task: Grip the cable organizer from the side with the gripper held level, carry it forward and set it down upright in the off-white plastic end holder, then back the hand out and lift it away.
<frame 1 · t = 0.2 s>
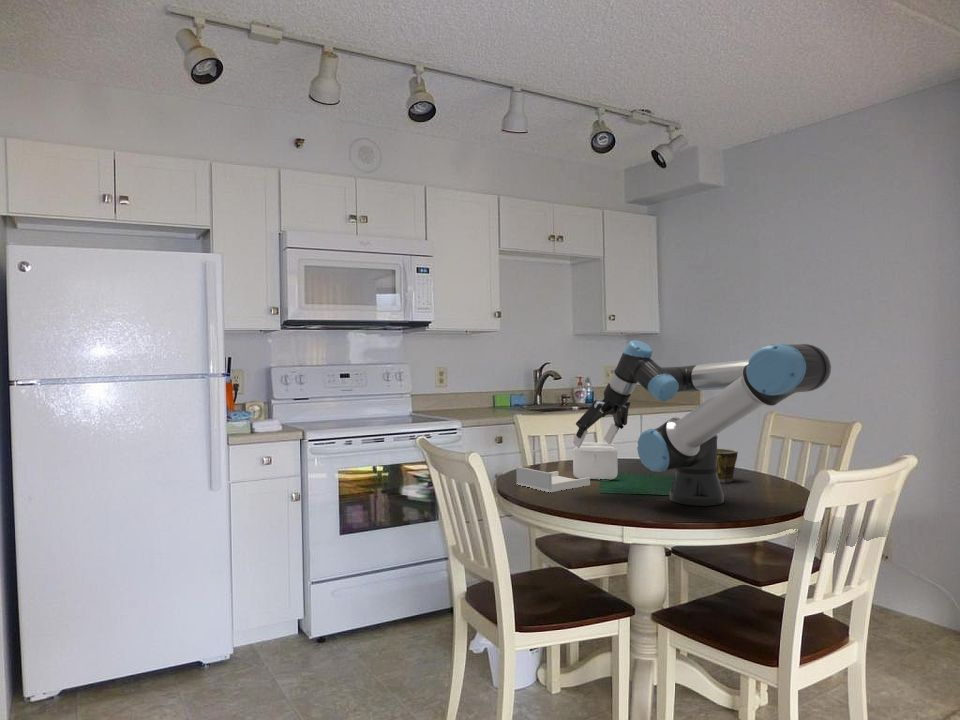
hand: (591, 443, 217), 15 cm above the table, tool tilted 35°, fingers open, 13 cm apart
cable organizer: (595, 478, 239), on the table
ceramic cup: (721, 482, 229), on the table
end holder: (553, 485, 227), on the table
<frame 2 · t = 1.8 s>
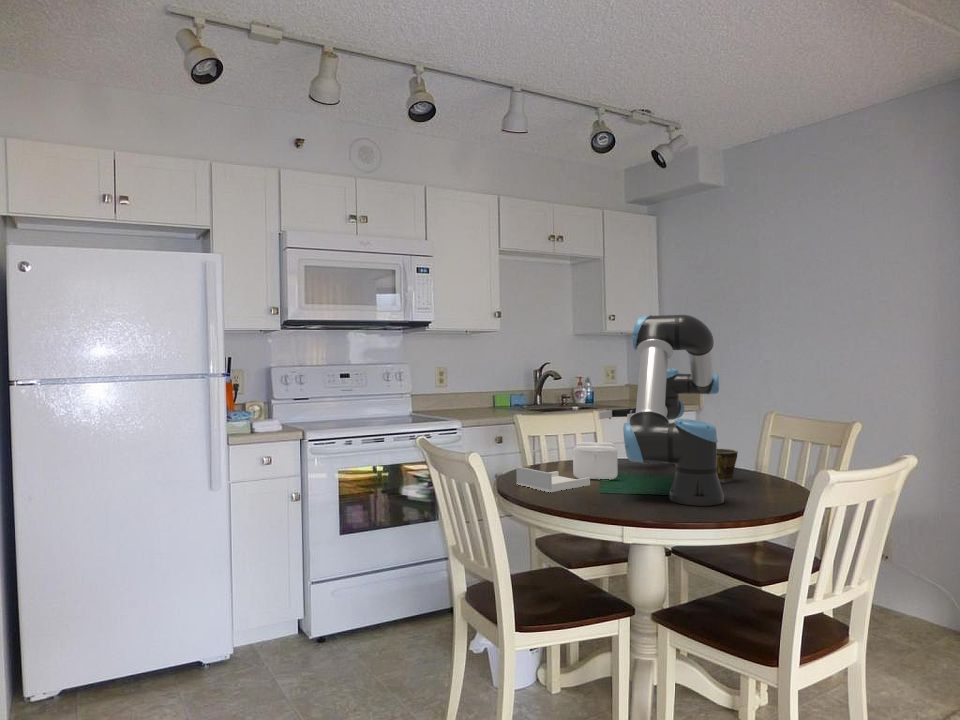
hand: (613, 416, 245), 20 cm above the table, tool horizontal, fingers open, 13 cm apart
nothing on the table moved.
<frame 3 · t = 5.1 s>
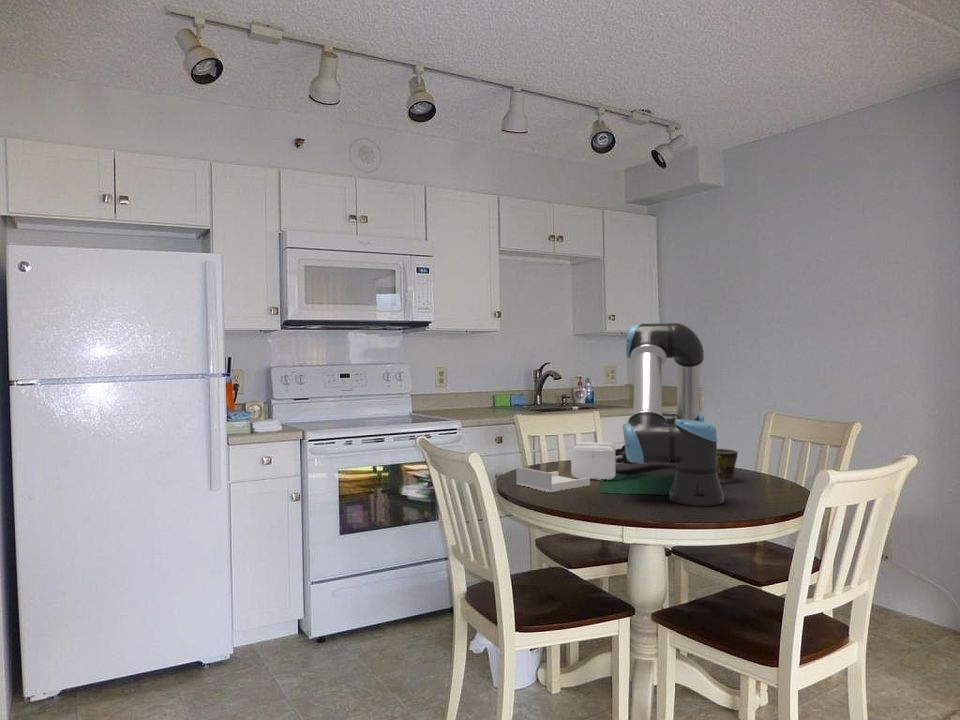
hand: (593, 459, 239), 7 cm above the table, tool horizontal, fingers open, 13 cm apart
cable organizer: (594, 478, 239), on the table, touching gripper
everything else where it was.
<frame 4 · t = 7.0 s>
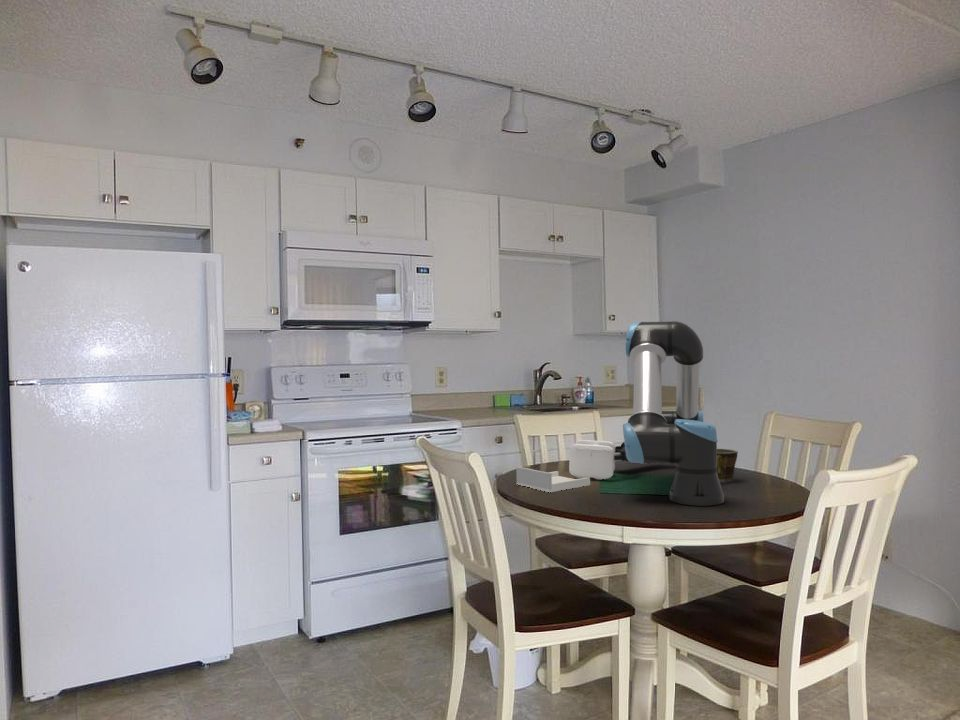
hand: (592, 456, 238), 8 cm above the table, tool horizontal, fingers closed on cable organizer, 12 cm apart
cable organizer: (593, 476, 239), on the table, touching gripper
everything else where it was.
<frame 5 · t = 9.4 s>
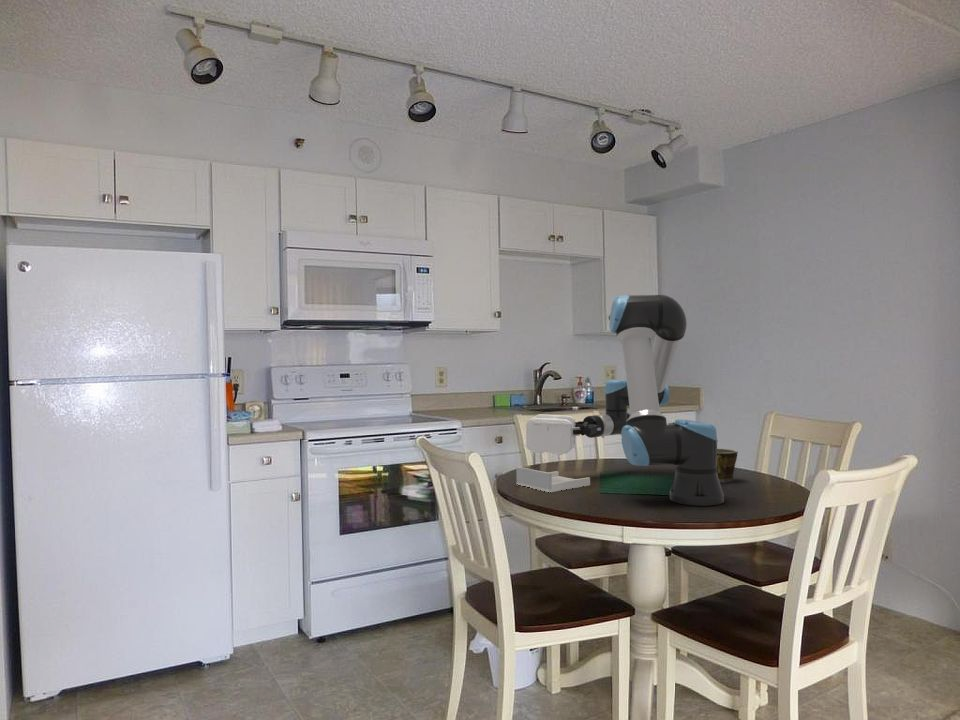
hand: (550, 431, 227), 18 cm above the table, tool horizontal, fingers closed on cable organizer, 12 cm apart
cable organizer: (551, 452, 228), point 11 cm above the table, touching gripper
everything else where it was.
when the fingers open (9 cm above the table, at t = 12.6 s): cable organizer stays where it is, resting on end holder.
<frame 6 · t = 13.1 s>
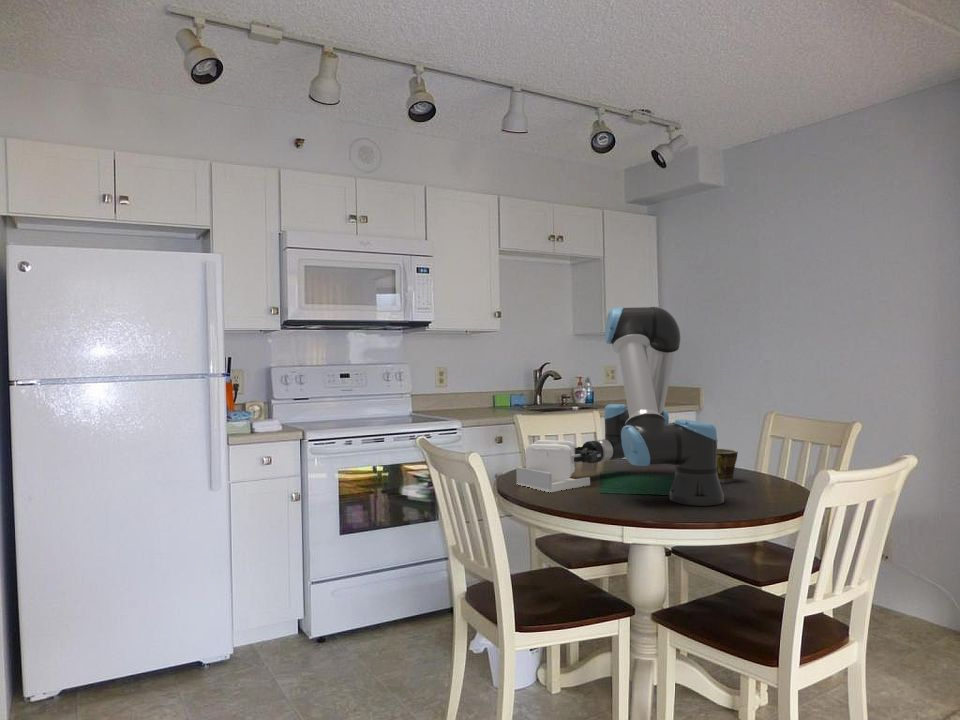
hand: (551, 457, 227), 9 cm above the table, tool horizontal, fingers open, 13 cm apart
cable organizer: (552, 478, 227), point 2 cm above the table, touching end holder
everything else where it was.
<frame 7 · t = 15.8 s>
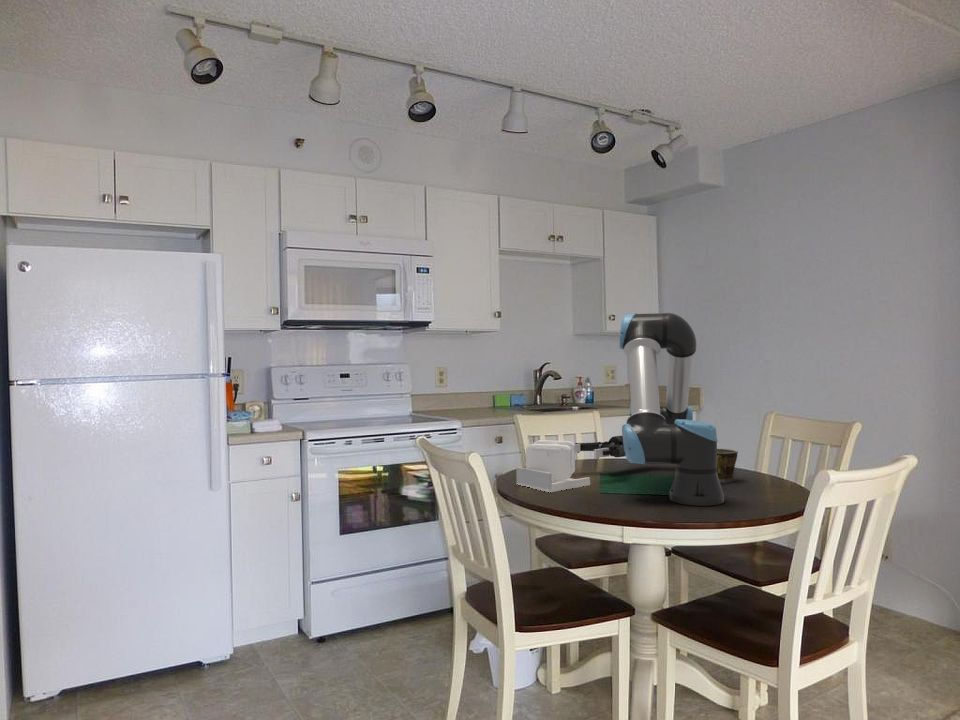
hand: (580, 451, 235), 10 cm above the table, tool horizontal, fingers open, 13 cm apart
nothing on the table moved.
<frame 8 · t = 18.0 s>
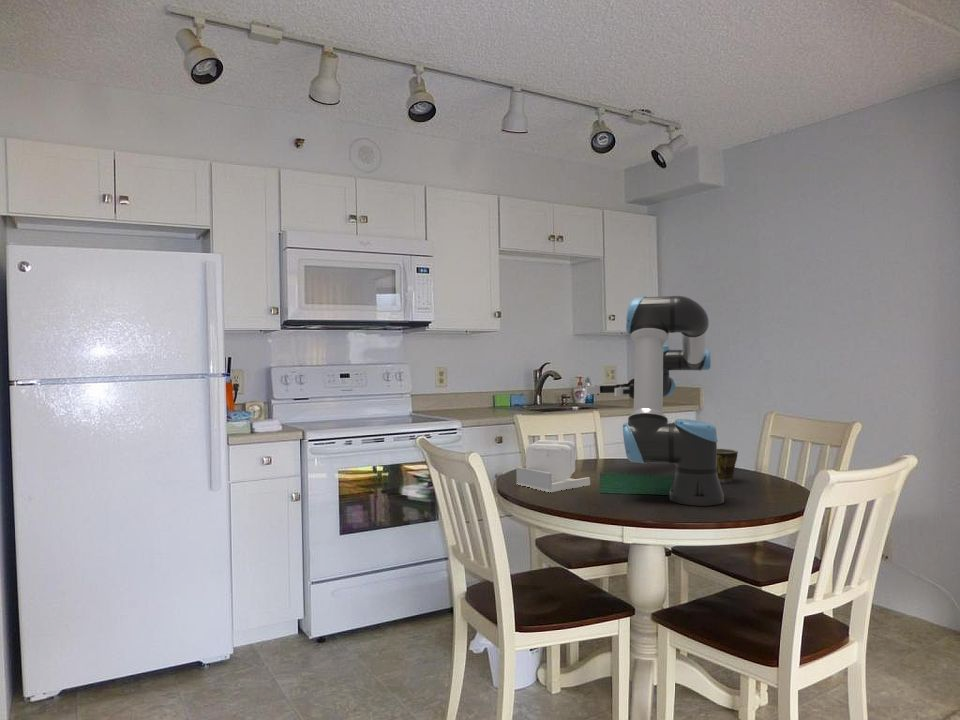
hand: (600, 391, 238), 30 cm above the table, tool horizontal, fingers open, 13 cm apart
nothing on the table moved.
at the end: cable organizer inside the target area on the end holder (0.9 cm from its centre), point 2.3 cm above the end holder's base; cable organizer tilted 0°; the gripper is holding nothing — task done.
